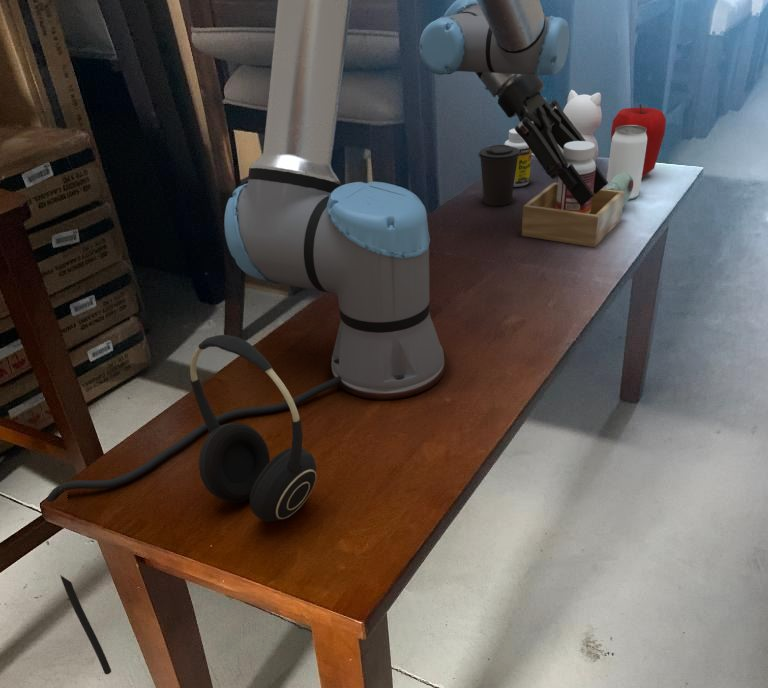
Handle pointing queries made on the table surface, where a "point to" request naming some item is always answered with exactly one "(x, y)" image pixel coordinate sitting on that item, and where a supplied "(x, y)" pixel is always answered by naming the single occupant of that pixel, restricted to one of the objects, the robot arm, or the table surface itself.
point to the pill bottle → (585, 166)
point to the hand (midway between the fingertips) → (594, 194)
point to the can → (628, 155)
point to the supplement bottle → (520, 158)
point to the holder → (572, 218)
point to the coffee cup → (498, 173)
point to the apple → (654, 132)
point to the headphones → (252, 450)
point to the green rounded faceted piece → (622, 184)
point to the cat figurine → (584, 116)
